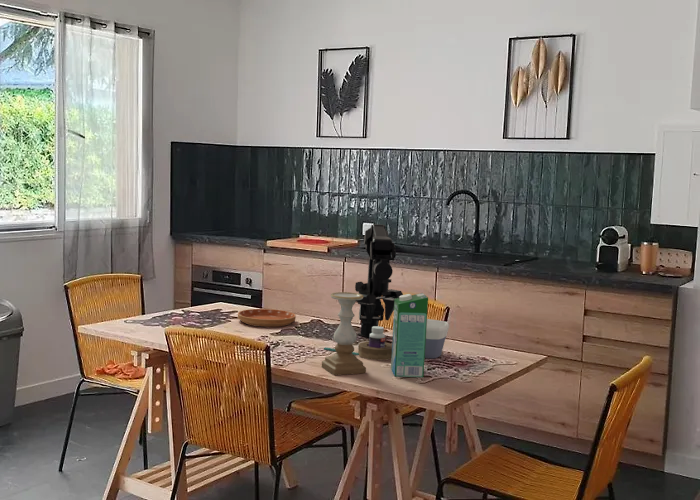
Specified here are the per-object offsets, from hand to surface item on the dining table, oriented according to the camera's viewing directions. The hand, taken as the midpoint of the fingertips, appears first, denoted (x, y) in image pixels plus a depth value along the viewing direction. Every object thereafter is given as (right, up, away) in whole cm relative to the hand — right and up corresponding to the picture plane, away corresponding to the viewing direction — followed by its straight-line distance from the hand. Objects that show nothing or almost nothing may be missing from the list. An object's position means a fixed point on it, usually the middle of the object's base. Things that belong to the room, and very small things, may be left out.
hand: (378, 321), depth 273 cm
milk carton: (+8, -15, -20) cm, 26 cm away
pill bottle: (-1, -12, +1) cm, 12 cm away
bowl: (+16, -12, +7) cm, 21 cm away
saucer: (-43, -5, +48) cm, 65 cm away
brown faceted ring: (-1, -12, +1) cm, 12 cm away
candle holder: (-12, -14, -20) cm, 26 cm away
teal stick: (-12, -11, +4) cm, 17 cm away
